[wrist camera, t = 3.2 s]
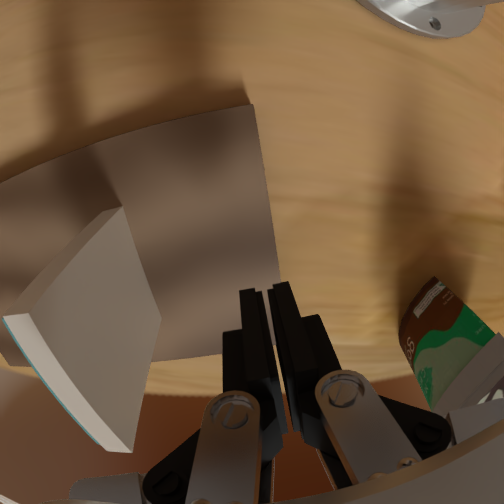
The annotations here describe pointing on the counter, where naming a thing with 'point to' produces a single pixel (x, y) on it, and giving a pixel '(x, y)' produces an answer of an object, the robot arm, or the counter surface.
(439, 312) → the food container
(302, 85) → the counter surface
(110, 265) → the tile
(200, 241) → the board
